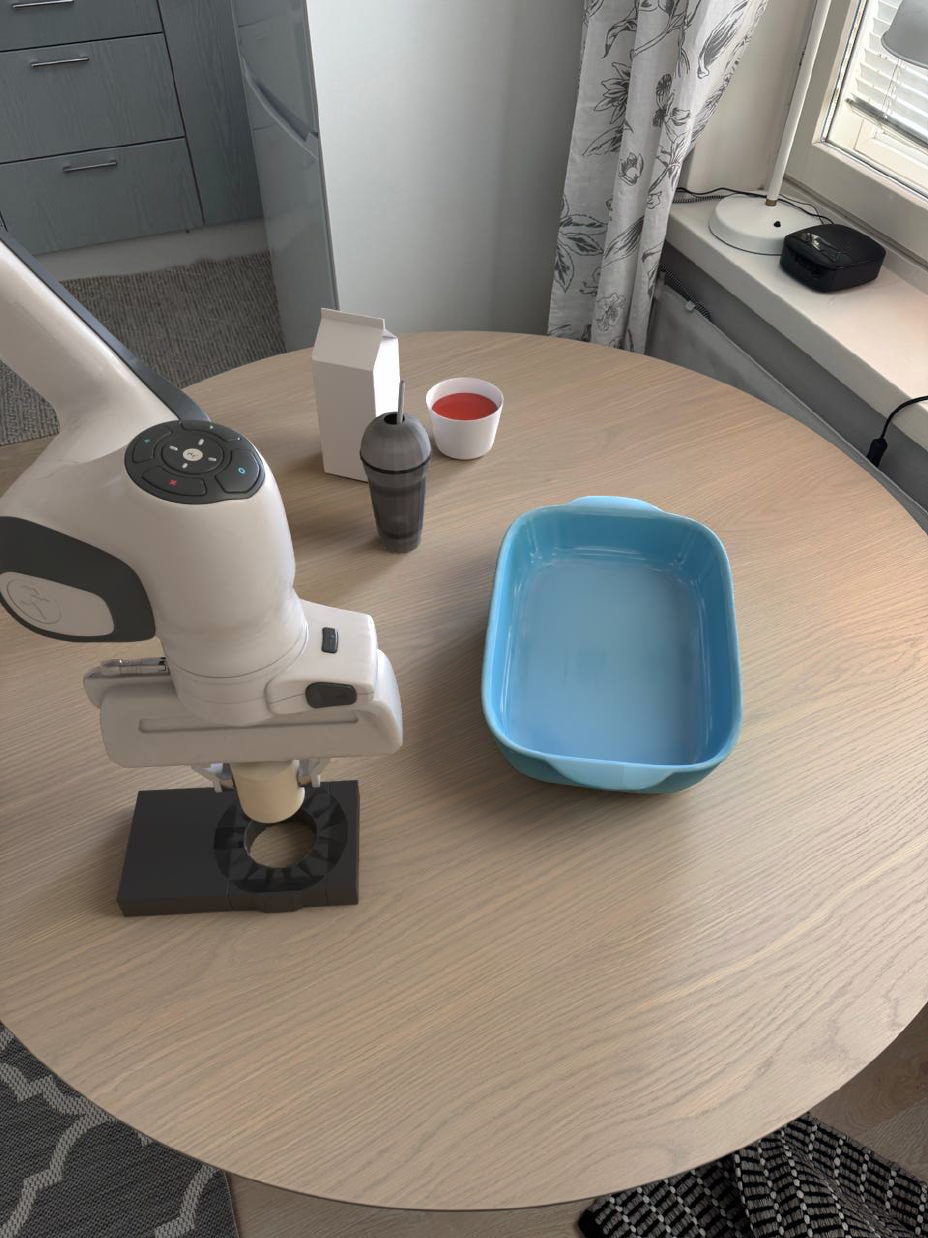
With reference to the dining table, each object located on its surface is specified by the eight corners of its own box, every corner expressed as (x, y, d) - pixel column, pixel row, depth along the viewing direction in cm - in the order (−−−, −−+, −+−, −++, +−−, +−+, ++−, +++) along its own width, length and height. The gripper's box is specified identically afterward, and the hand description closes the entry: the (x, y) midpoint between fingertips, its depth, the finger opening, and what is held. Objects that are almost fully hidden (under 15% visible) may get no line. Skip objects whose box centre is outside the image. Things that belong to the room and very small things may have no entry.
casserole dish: (504, 534, 108) (506, 482, 103) (712, 551, 106) (725, 498, 101) (465, 823, 83) (465, 772, 77) (738, 851, 81) (757, 801, 76)
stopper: (237, 825, 73) (221, 768, 68) (243, 771, 77) (228, 714, 72) (303, 821, 73) (291, 765, 68) (306, 768, 77) (295, 711, 72)
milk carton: (380, 485, 114) (370, 335, 100) (324, 473, 116) (306, 324, 102) (403, 451, 119) (396, 303, 105) (348, 439, 120) (334, 292, 107)
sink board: (123, 921, 76) (115, 905, 74) (145, 804, 84) (138, 787, 82) (358, 908, 77) (356, 892, 75) (360, 793, 85) (357, 776, 83)
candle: (412, 449, 119) (410, 403, 114) (455, 413, 124) (455, 369, 120) (474, 475, 115) (474, 430, 111) (516, 438, 121) (518, 393, 116)
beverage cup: (394, 509, 111) (385, 348, 97) (447, 534, 108) (446, 372, 94) (352, 544, 107) (336, 382, 93) (406, 571, 104) (398, 408, 90)
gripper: (64, 701, 61) (119, 826, 71) (398, 686, 62) (406, 811, 72) (85, 628, 65) (134, 754, 75) (396, 614, 66) (404, 741, 76)
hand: (269, 782), depth 74 cm, fingers closed on stopper, 5 cm apart
